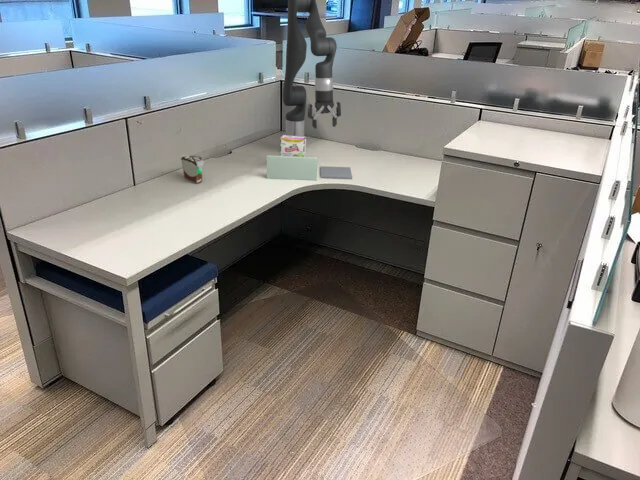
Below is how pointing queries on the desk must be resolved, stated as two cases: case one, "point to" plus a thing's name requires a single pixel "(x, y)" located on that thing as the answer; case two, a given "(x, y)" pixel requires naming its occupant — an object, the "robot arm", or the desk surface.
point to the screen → (292, 167)
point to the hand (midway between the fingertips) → (324, 127)
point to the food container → (192, 168)
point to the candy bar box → (292, 146)
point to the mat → (336, 172)
